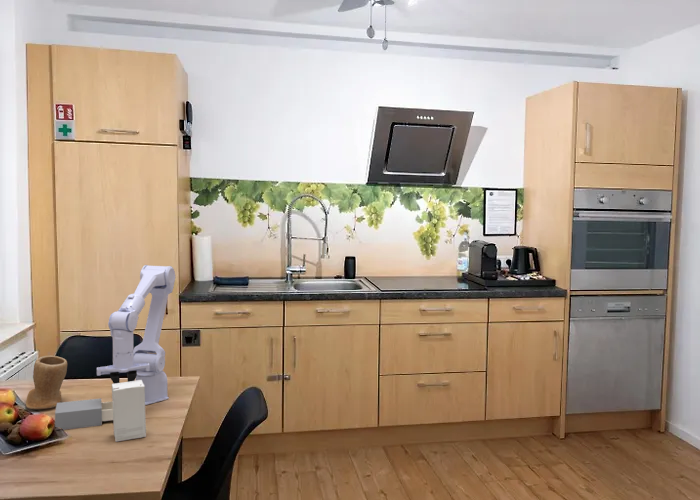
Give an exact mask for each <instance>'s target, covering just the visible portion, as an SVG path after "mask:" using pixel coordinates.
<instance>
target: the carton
mask: <svg viewBox="0 0 700 500" xmlns="http://www.w3.org/2000/svg"><path fill="white" fill-rule="evenodd" d="M101 403H102V398H92V399H83V400H72V401H63V402H62V401H61V402H60V403H57V405H56V407H55V411H54V420H55V421H54V423H55V424H54V426H55V427H60V428H62V429H63V430H62V431H64V430H65V431H66V430H73V429H81V428H89V427H98V426H99V427H100V426H102V425H103V424H102V423H103V421H102V404H101Z"/></svg>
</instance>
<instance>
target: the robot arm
mask: <svg viewBox="0 0 700 500" xmlns="http://www.w3.org/2000/svg"><path fill="white" fill-rule="evenodd" d="M175 282H176V272H175V268H174V267H173V266H171V265H168V266H167V265H148V264H144V265H143V266H142V268H141V269H140V272H139V282H138V284H137V287H136V288H135V290H134V292H133V293H130V294H128V295H127V297H126V298H125V300H124V301H123V303H122V304H121V305H120V307H119V308H118V310H115V311H114V312H112V313H111V314H110V315H109V318H108V323H107V325H108V328H109V331H110V336H111V337H112V365H111V364H110V365H107V366H106V365H105V366H100V367H99V366H98V367H96V376H101V375H109V377H110V379H111V381H112V384H115V383H120V379H121V378H120V374H123V373H126V374H127V382H130V381H136V380H142V382H143V384H144V386H145V406H147V405H151V404H154V403H159V402H162V401H165V400H166V401H167V400H169V398H170V397H169V396H168V376H167V374H166V372H165V371H164V370H165V369H164V368H165V366H166V364H165V363H166V351H165V349H164V348H163V347H162V346H161V345H160V344H159V343H160V338H161V334H162V327H163V322H164V320H165V319H164V317H165V312H166V308H167V303H168V298H169V295H170V294H173V292H174V291H173V290H174V286H175ZM149 294H151V301H150V305H149V310H148V314H147V318H146V325H145V328H144V333H143V338H142V341H141V343H139V344H138V345H136V346H134V331H135V329H136V328H137V326H138V325H137V324H138V320H139V315H140V314H141V312H142V310H143V308H145V306H146V305H145V304H146V301H145V299H146V298H147V296H148V295H149Z"/></svg>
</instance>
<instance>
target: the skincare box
mask: <svg viewBox="0 0 700 500" xmlns="http://www.w3.org/2000/svg"><path fill="white" fill-rule="evenodd" d="M111 399H112V401H111V402H113V420H112V422H113V424H112V425H113V436H114V440H115V442H123V441H128V440H134V439H139V438H141V439H142V438H146V437H147V427H146V426H147V425H146V423H147V422H146V419H147V418H146V405H145V386H144V384H143V382H142V380H136V379H135V380H134V381H130V382H128V381H123V382H119V383H115V384H114V383H111Z"/></svg>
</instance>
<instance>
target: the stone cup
mask: <svg viewBox="0 0 700 500" xmlns="http://www.w3.org/2000/svg"><path fill="white" fill-rule="evenodd" d="M67 369H68V361H67V359H65V358H63V357H60V356H57V355H43V356H40V357H38V358H37V359H36V360H35V361H34V364H33V371H32V379H33V383H34V388H32V389H30V390H29V391H28V393H27V396H26V400H25V407H26V408H27V409H29V410H30V409H31V410H45V409H51V408H56V405H57V403H61V402H62V391H61V387H62V384H63V382H64V379H65V378H66V375H67V371H68V370H67Z"/></svg>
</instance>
